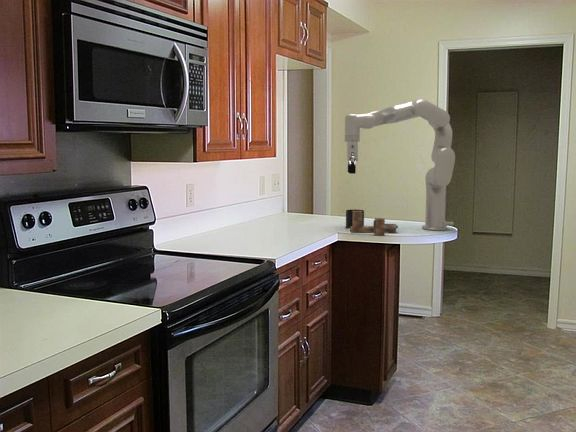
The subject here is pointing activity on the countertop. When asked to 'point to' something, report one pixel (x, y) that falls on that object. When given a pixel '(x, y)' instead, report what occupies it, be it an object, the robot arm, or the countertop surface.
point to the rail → (359, 228)
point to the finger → (379, 226)
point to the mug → (351, 217)
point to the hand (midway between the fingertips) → (351, 172)
